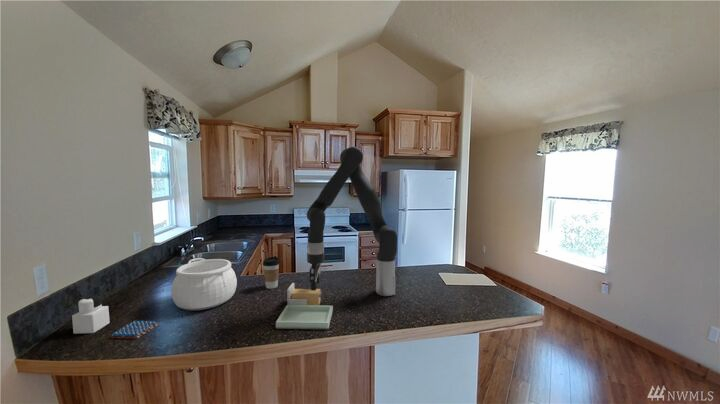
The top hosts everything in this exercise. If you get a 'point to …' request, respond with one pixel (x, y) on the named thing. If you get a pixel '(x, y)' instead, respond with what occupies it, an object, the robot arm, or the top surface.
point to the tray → (305, 317)
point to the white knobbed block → (90, 315)
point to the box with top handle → (307, 295)
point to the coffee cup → (271, 272)
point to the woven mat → (134, 329)
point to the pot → (203, 284)
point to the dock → (294, 301)
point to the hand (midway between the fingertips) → (315, 286)
